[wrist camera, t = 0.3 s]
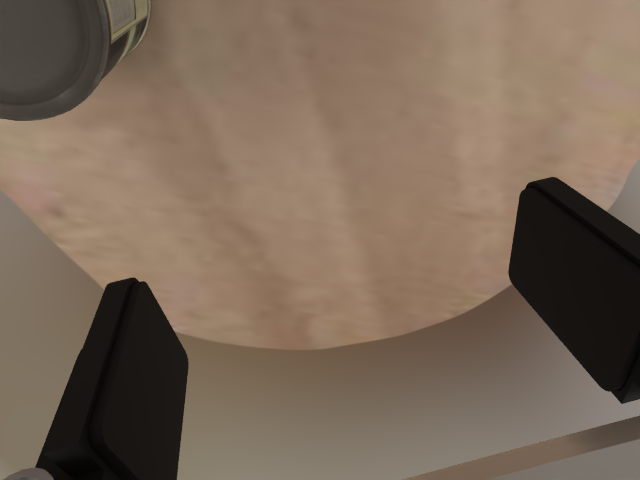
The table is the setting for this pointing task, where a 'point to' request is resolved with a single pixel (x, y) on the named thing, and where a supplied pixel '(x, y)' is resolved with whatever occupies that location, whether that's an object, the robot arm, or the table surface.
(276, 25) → the table surface
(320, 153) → the table surface
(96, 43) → the coffee can
